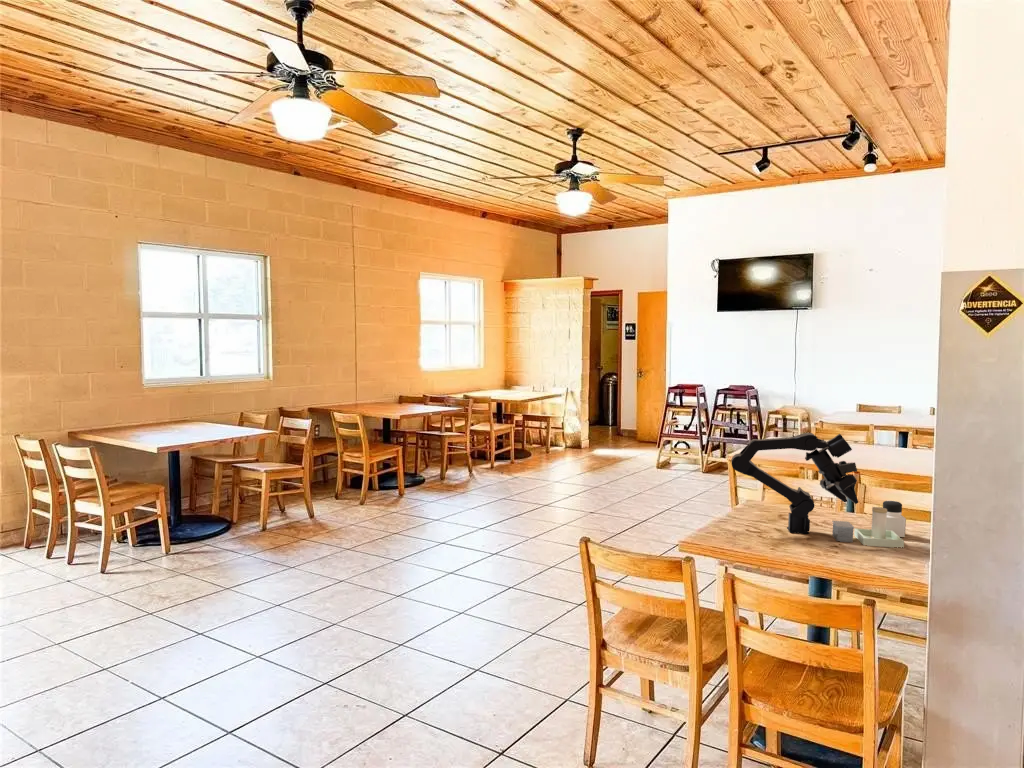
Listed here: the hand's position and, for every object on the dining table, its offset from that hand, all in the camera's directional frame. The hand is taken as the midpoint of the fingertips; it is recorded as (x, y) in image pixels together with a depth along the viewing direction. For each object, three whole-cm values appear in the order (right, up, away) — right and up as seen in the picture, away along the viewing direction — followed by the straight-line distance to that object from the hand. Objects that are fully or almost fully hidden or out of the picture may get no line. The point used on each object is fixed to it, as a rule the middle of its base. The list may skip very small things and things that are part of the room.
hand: (851, 502), depth 251 cm
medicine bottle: (+16, -12, +3) cm, 20 cm away
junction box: (-5, -12, -3) cm, 13 cm away
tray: (+7, -13, -5) cm, 15 cm away
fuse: (+7, -12, -5) cm, 15 cm away
